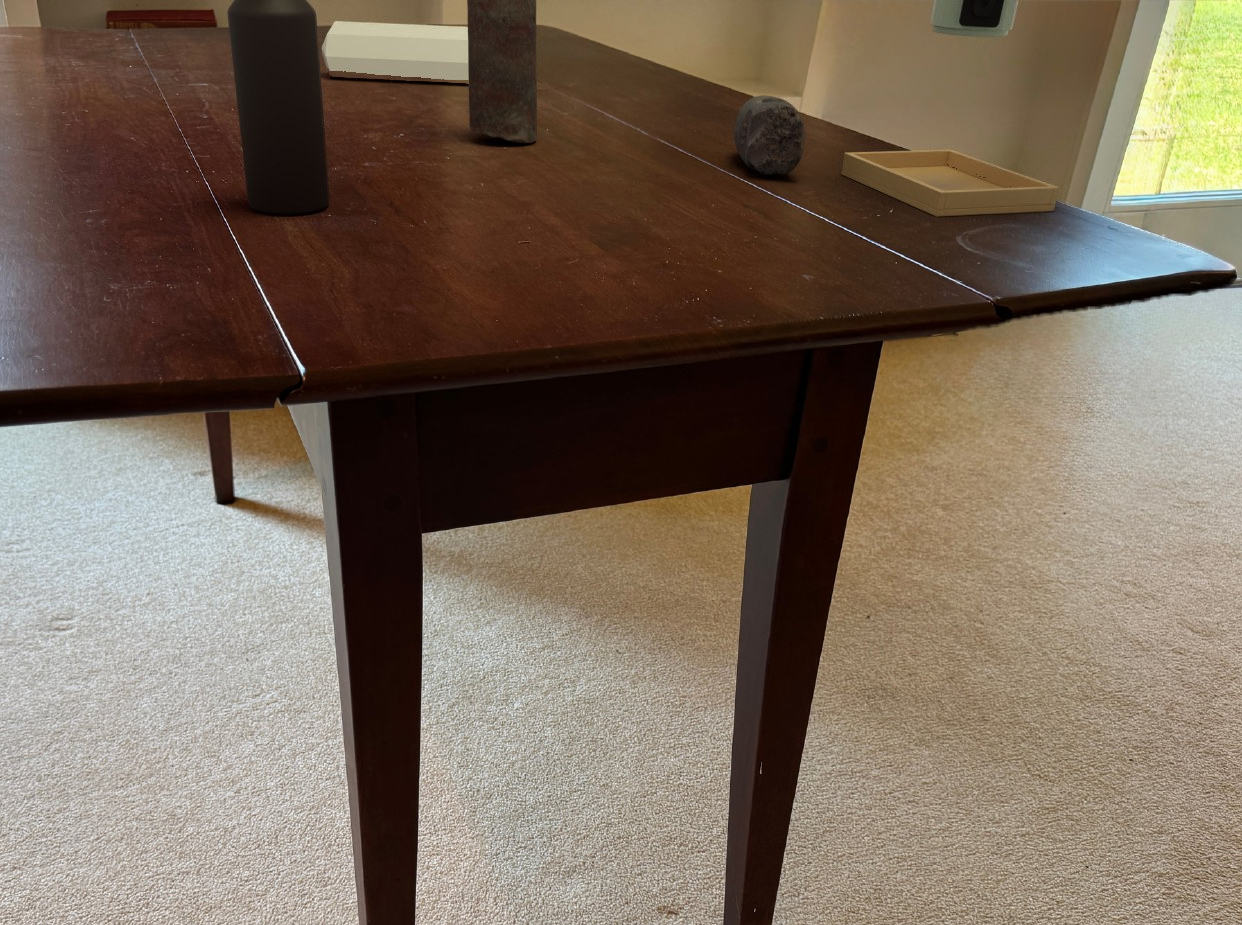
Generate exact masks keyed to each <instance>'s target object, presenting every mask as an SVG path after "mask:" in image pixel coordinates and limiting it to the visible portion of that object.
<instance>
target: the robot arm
mask: <svg viewBox="0 0 1242 925" xmlns="http://www.w3.org/2000/svg"><path fill="white" fill-rule="evenodd" d="M1003 4H1004V0H963V3H962V8H961V13H960V18H959V23H960V25H962V26H969V27H990V28H995V27H997V26H998V25H999V22H1000V18H1001V13H1002V9H1003Z"/></svg>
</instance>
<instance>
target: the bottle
mask: <svg viewBox="0 0 1242 925" xmlns="http://www.w3.org/2000/svg"><path fill="white" fill-rule="evenodd" d="M316 12H317V11H316V10H315V9H314V7H313V6H312V5H311V3H310V2H309V1H308V0H233V1H232V2H231V4H230V5H229V7H228V9H227V22H228V23H227V24H228V30H229V31H228V32H229V40H230V50H231V58H232V59H231V61H232V69H233V77H234V86H235V95H236V96H235V97H236V105H237V115H238V123H239V132H240V142H241V150H242V159H243V160H242V161H243V170H244V178H245V186H246V187H245V188H246V196H247V202H248V205H249V207H250V208H251V209H252V210H254V211H256V212H259V213H263V214H268V215H276V216H295V215H305V214H311V213H315V212H316V213H317V212H319V211H322V210H324V209H326V208H327V207H328V206H329V204H330V202H331V201H330V200H331V199H330V198H331V197H330V188H329V187H330V186H329V185H330V184H329V173H328V172H329V171H328V159H327V156H328V155H327V144H326V131H325V117H324V105H323V89H322V88H323V87H322V76H321V73H322V72H321V61H320V48H319V45H320V44H319V34H318V32H319V31H318V20H317V18H318V17H317V13H316Z"/></svg>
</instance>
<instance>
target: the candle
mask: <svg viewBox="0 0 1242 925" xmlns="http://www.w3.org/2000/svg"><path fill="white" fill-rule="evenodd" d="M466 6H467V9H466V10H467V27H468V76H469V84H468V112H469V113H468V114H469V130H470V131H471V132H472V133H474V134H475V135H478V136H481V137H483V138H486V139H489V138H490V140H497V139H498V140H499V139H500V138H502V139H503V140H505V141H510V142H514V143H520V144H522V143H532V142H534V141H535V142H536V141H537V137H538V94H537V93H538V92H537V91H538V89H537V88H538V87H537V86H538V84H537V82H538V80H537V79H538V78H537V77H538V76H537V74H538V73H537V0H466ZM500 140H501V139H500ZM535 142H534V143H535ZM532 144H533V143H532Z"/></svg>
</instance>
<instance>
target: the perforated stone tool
mask: <svg viewBox="0 0 1242 925" xmlns="http://www.w3.org/2000/svg"><path fill="white" fill-rule="evenodd" d="M733 134H734V136H733V137H734V138H733V139H734V144H735V148H736V151H737V153H738V156H740V158H741V160H742V161H743V162H744V164H745V165H746V167H748V168H749V169H751V170H753V171H755V170H756V171H757V172H758V173H760V174H761V175H762V174H763V175H769V176H772V175H787V174H789V173H790V172H793V171H794V170H795V169H796V168H797V167H798V165H799V164H800V162H801V160H802V158H803V154H804V151H805V150H804V149H805V142H806V138H805V137H806V131H805V123H804V120H803V117H802V115H801V114H800V112H799V111H798V109H797V108H796V107H795V106H794V105H793V104H791V103H790V102H789V101H788V100H785V99H783V98H781V97H776V96H772V95H766V94H765V95H757V96H754V97H751V98H750V99H748V100H747V101H745V103H743V105H742V106H741V108H740V109H739V111H738V114H737V116H736V120H735V123H734V130H733Z"/></svg>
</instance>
